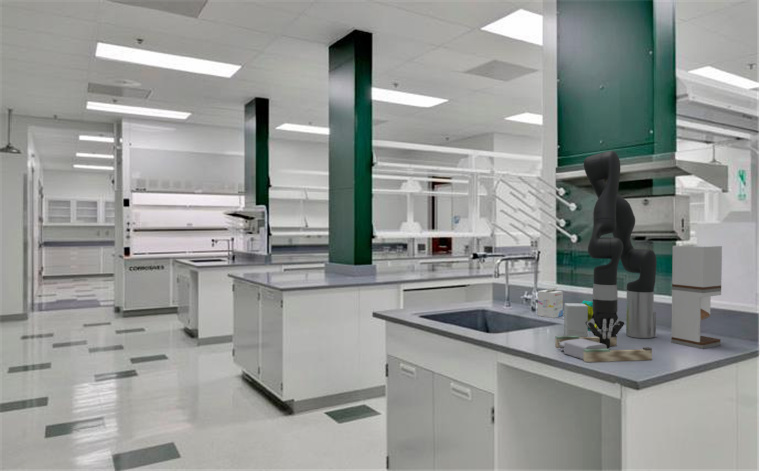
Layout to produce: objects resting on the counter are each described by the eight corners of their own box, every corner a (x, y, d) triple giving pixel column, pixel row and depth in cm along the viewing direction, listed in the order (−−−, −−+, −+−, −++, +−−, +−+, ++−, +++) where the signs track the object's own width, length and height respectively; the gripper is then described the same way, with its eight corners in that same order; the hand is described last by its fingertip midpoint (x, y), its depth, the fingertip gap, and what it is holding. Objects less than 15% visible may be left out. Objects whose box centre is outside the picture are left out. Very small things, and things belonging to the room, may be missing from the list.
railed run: (614, 344, 177) (614, 334, 177) (651, 359, 158) (651, 348, 157) (555, 346, 175) (555, 336, 174) (585, 362, 155) (586, 350, 155)
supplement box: (587, 340, 184) (588, 306, 184) (566, 339, 185) (566, 305, 185) (583, 336, 191) (584, 303, 191) (563, 335, 193) (563, 302, 192)
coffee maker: (702, 348, 172) (703, 246, 171) (671, 342, 181) (672, 245, 180) (720, 345, 177) (721, 246, 177) (689, 339, 187) (691, 245, 186)
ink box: (546, 313, 240) (546, 285, 240) (563, 315, 234) (563, 287, 234) (537, 315, 235) (537, 287, 234) (553, 318, 228) (554, 288, 228)
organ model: (603, 316, 195) (573, 298, 203) (591, 339, 201) (562, 321, 208) (618, 305, 205) (589, 288, 213) (606, 327, 211) (578, 310, 219)
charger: (570, 348, 174) (606, 358, 160) (550, 350, 170) (585, 361, 156) (571, 334, 174) (606, 343, 160) (550, 336, 170) (585, 346, 156)
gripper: (617, 295, 171) (616, 346, 171) (580, 296, 169) (580, 347, 170) (630, 298, 163) (630, 351, 164) (592, 299, 162) (591, 353, 162)
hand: (604, 349), depth 167 cm, fingers closed
